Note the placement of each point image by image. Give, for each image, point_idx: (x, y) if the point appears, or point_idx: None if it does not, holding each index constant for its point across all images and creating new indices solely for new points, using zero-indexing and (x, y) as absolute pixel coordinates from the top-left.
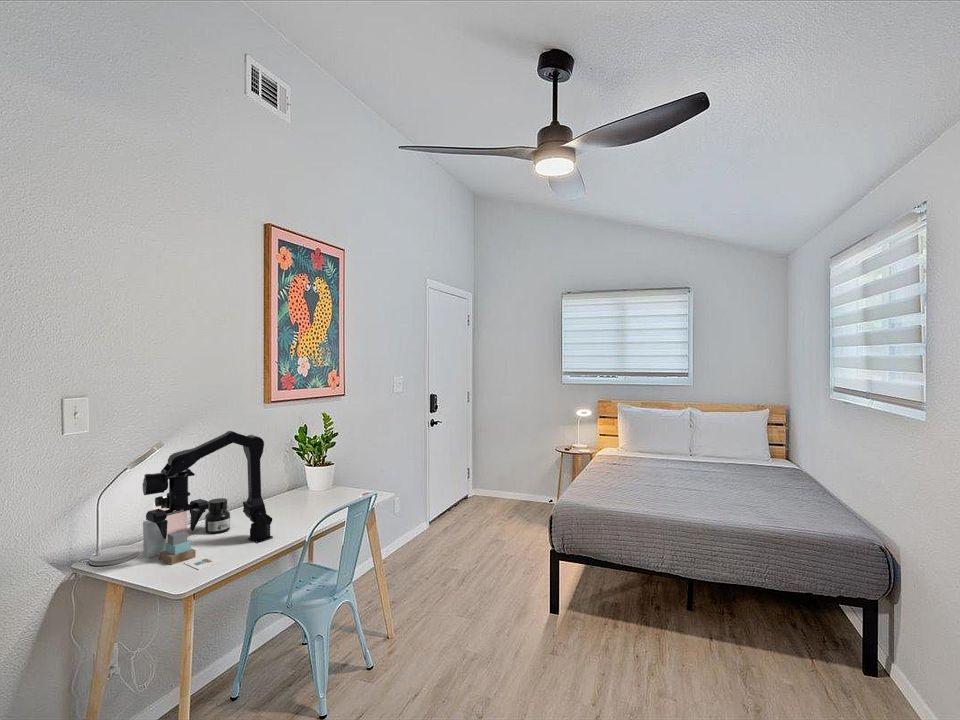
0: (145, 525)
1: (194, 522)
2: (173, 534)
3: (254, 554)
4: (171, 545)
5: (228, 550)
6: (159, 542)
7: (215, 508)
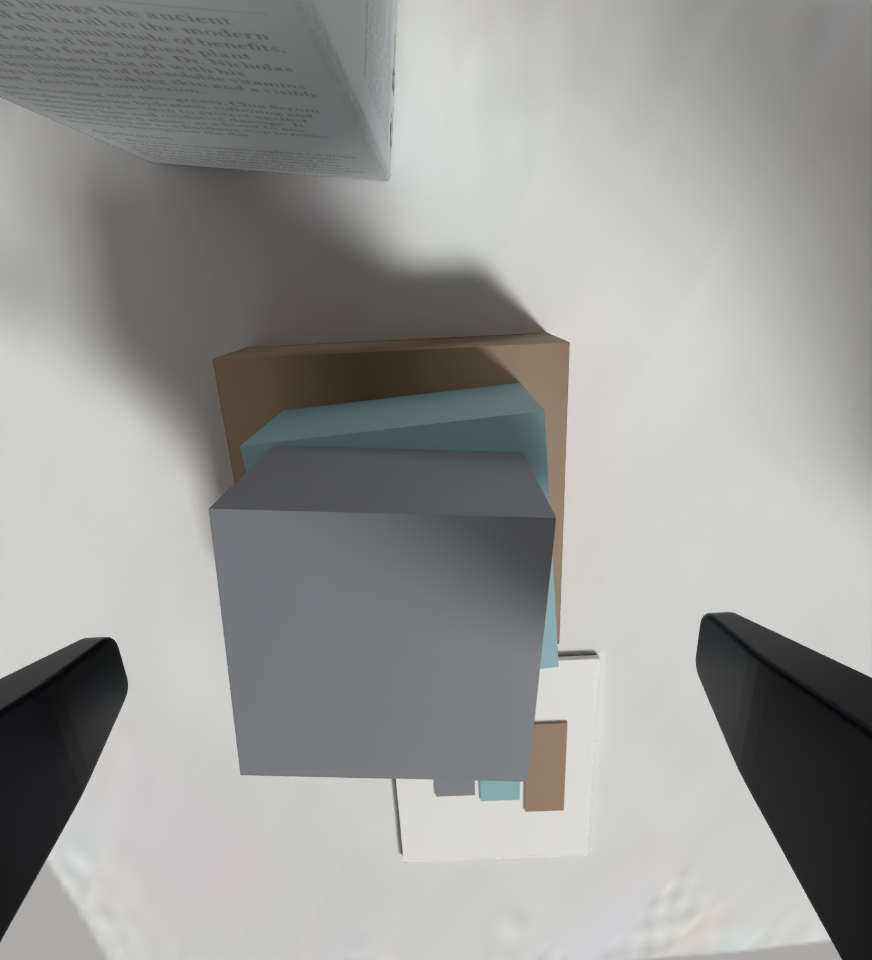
0: None
1: (846, 948)
2: (296, 656)
3: None
4: None
5: None
6: (241, 125)
7: None
